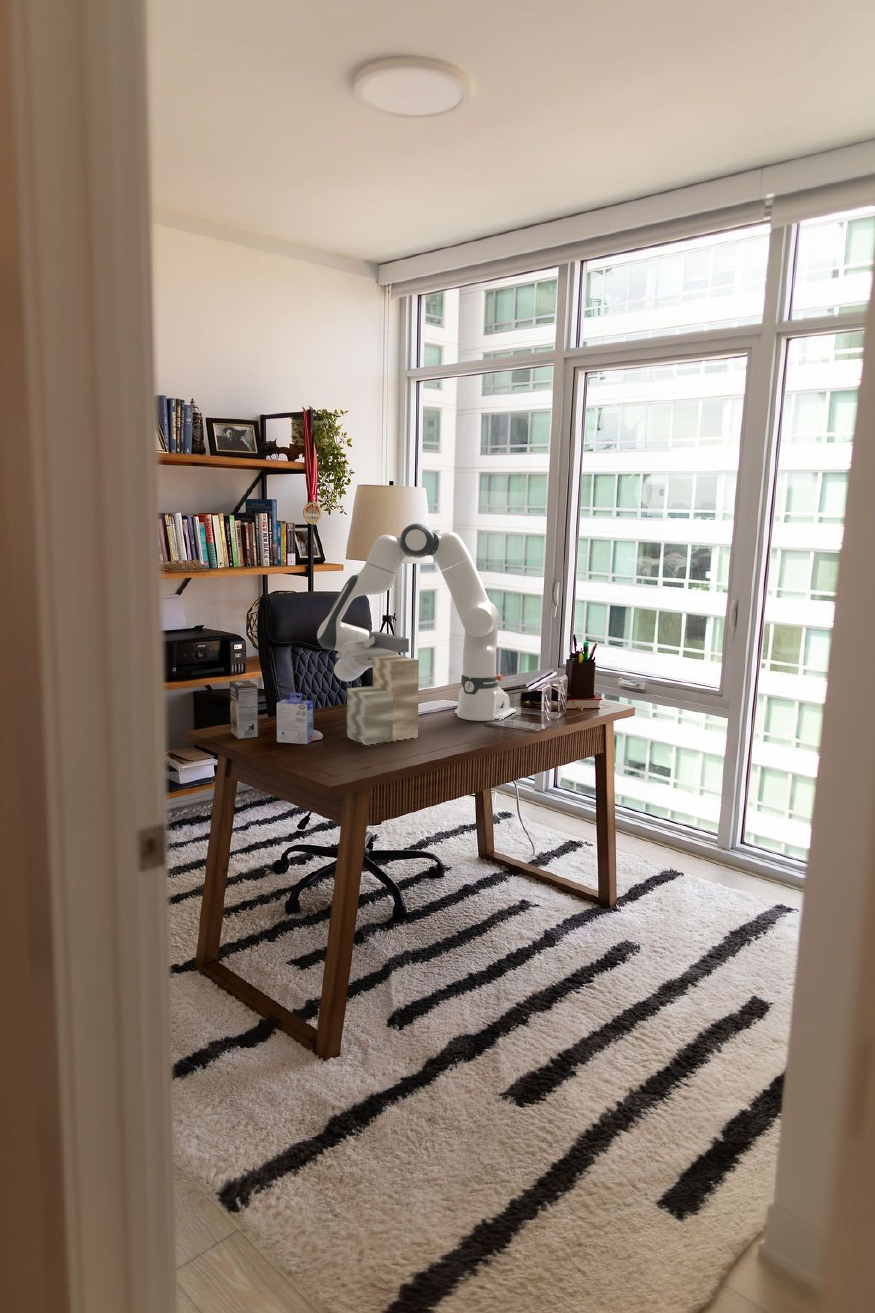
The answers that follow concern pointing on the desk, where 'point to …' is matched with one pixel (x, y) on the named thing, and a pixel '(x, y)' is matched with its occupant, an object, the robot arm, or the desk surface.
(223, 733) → the desk surface
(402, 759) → the desk surface
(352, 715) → the stepped stand
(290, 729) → the ink cartridge box
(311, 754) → the desk surface
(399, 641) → the bar
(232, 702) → the coffee box
